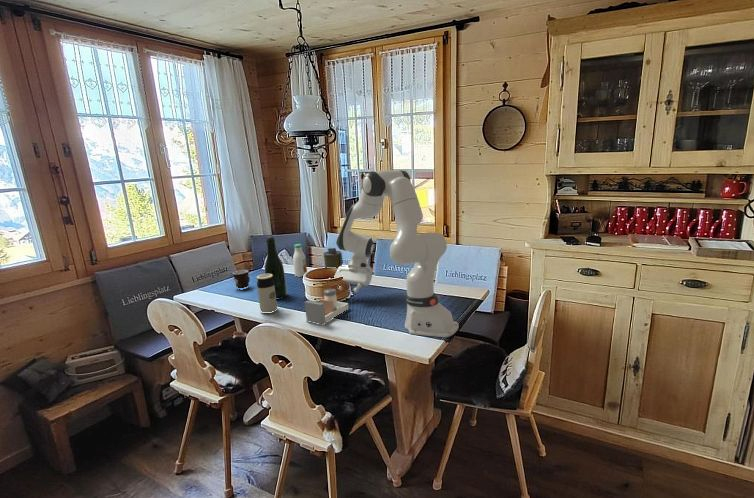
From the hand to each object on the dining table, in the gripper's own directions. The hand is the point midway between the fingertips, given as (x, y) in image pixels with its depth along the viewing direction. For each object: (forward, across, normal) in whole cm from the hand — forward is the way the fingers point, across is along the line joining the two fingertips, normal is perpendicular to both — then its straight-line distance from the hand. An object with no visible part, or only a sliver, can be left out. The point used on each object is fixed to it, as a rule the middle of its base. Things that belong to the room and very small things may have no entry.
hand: (347, 290), depth 199 cm
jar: (+14, 0, -5) cm, 15 cm away
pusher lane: (+16, 0, -7) cm, 17 cm away
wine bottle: (+9, -42, +1) cm, 43 cm away
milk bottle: (-15, -56, +26) cm, 63 cm away
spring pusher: (+16, 0, -8) cm, 18 cm away
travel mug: (+21, -31, -11) cm, 39 cm away
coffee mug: (+8, -71, +2) cm, 71 cm away
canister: (-14, -28, +24) cm, 39 cm away
